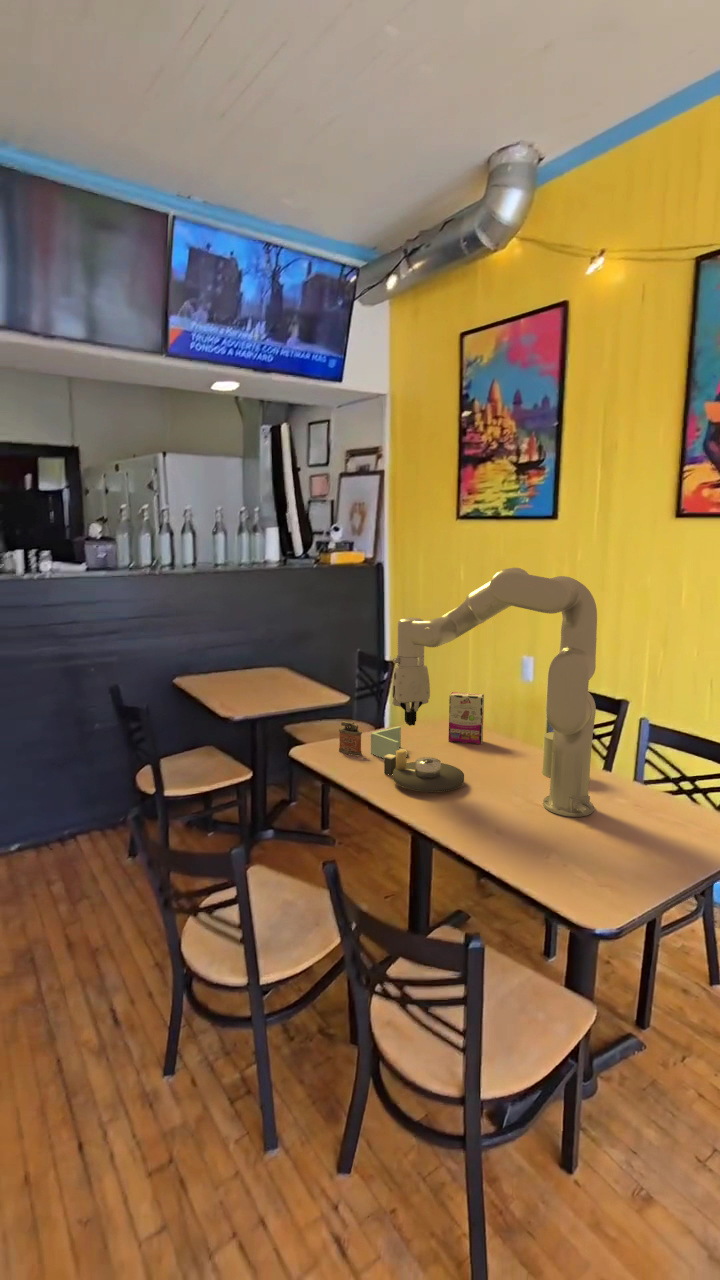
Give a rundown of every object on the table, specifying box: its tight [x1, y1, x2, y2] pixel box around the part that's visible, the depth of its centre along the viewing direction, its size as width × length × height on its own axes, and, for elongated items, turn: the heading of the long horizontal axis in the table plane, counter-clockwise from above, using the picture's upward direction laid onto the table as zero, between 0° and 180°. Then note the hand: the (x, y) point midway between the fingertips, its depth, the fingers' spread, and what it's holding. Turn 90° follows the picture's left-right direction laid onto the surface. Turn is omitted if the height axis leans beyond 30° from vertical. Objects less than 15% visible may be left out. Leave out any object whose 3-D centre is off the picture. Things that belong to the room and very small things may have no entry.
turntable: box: [392, 749, 465, 793], centre depth 192 cm, size 20×20×6 cm
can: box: [541, 731, 554, 779], centre depth 201 cm, size 9×9×12 cm
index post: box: [383, 754, 396, 776], centre depth 200 cm, size 3×3×5 cm
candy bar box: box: [448, 691, 485, 745], centre depth 230 cm, size 11×5×16 cm, turn 73°
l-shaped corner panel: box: [370, 726, 409, 760], centre depth 216 cm, size 12×12×8 cm
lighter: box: [338, 720, 363, 756], centre depth 218 cm, size 8×3×10 cm, turn 58°
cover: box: [414, 756, 442, 780], centre depth 191 cm, size 7×7×4 cm
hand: (410, 724), depth 196 cm, fingers closed
